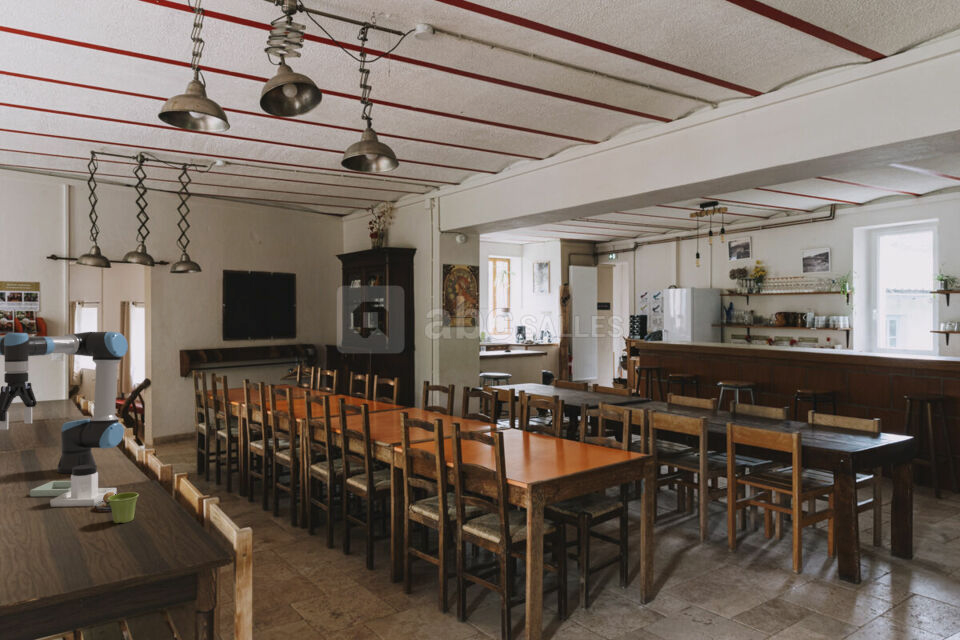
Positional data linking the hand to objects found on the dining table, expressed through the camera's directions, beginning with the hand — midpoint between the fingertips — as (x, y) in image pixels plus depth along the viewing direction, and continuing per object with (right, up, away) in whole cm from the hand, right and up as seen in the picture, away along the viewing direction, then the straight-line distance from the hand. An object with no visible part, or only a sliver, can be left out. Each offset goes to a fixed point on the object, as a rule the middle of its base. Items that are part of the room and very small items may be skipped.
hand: (16, 426), depth 244 cm
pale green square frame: (+9, -29, +12) cm, 32 cm away
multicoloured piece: (+44, -29, -10) cm, 53 cm away
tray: (+27, -29, -1) cm, 39 cm away
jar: (+27, -28, 0) cm, 39 cm away
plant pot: (+56, -29, -25) cm, 68 cm away
